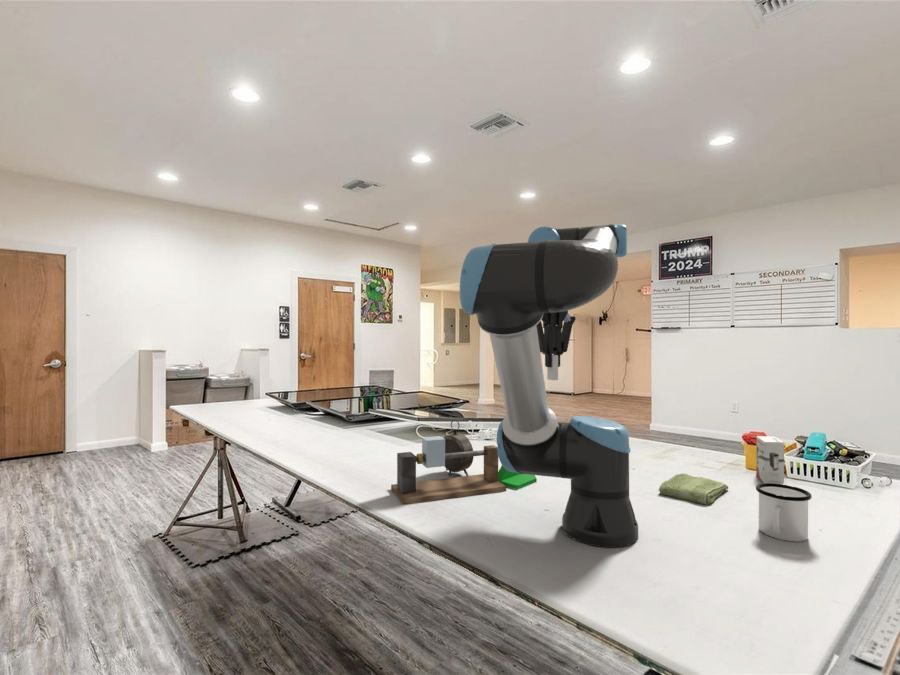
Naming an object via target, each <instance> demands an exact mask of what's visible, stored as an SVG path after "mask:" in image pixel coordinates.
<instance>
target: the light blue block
mask: <svg viewBox="0 0 900 675" xmlns="http://www.w3.org/2000/svg"><path fill="white" fill-rule="evenodd" d="M421 454H422V456H425V455H426V461H423V463H422V464H421V465H423V466H424V467H425V468H426V469H432V468H440V467H444V466H445V439H444V438H443V437H442V436H440V435H438V436H425V437H424V436H423V437H421Z"/></svg>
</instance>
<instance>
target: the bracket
mask: <svg viewBox="0 0 900 675" xmlns="http://www.w3.org/2000/svg"><path fill="white" fill-rule="evenodd" d="M537 480H538V479H537V477H536V475H529V474H524V475H523V474H519V473H516V472H510V471H508V470H506V469H505V468H504V467H503V466H502V465H501V466H500V468H499V469H498V481H499V482H500V483H502V484H503V485H505V486H506V488H510V489H513V490H520V489H523V488H525V487H527V486H531V485H533V484H536V483H537Z"/></svg>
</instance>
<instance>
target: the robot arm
mask: <svg viewBox="0 0 900 675" xmlns="http://www.w3.org/2000/svg"><path fill="white" fill-rule="evenodd" d="M627 254H628V229H627V226H626V225H625V224H623V223H619V224H618V223H617V224H616V223H615V224H613V223H609V224H603V225H593V226H583V227H581V226H578V227H567V228H557V227H556V228H553V227H550V226H546V225H545V226H543V225H542V226H539V227H537V228H535V229H534V230H533V231H532V232H531V233H530V235H529V237H528V238H527V241H526V242H515V243H513V242H512V243H503V244H502V243H499V244H496V243H492V244H490V245H481V246H476V247H472V248H471V249H470V250H469V251H468V252H467V253H466V256H465V257H464V260H463V263H462V267H461V271H460V278H459V300H460V301H459V302H460V305H461V309H462V310H463V312H464V313H465V314H467V315H470V316H473V315H476V318H477V323H478V326H479V328H480V330H482V331H483V332H485V333H487V334H489V339H490V343H491V347H492V352H493V356H494V357H493V358H494V361H495V366H496V369H497V375H498V380H499V386H500V388H501V394H502V398H503V403H504V408H505V411H506V415H505V416H504V417H503V418H502V419H503V420H501V421H500V423H499V425H498V427H497V433H496V445H497V447H498V448H497V452H498V461H499V462H500V464H501V466H503V467H504V468H505V469H506V470H508V471H510V472H516V473H519V474H523V475H524V474H529V475H535V476H539V477H540V476H541V477H549V478H550V477H551V478H560V479H561V478H562V479H569V480H570V494H569V496H568V499H567V503H566V506H565V510H564V512H563V514H562V518H561V529H562V531H563V533H564V534H566V536H568V537H569V538H571V539H573V540H575V541H577V542H580V543H583V544H587V545H590V546H596V547H604V548H605V547H606V548H621V547H627V546H630V545H632V544H635V543H636V542H637V541H638V539H639V523H638V520H637V519H636V514H635V511H634V509H633V506H632V505H633V504H632V501H631V499H630V453H631V447H630V433H629V431H628V430H627V428H626V427H625V426H624V425H622V424H620V423H618V422H616V421H613V420H609V419H605V418H600V417H596V416H588V415H587V416H586V415H585V416H584V415H576V416H575V415H574V416H572V417H571V419H570V420H569V422H562V421H558V417H557V415H556V413H555V412H554V411H553V410H552V408H550V407H549V404H548V397H547V389H546V383H545V382H546V381H545V377H544V376H545V375H544V369H543V364H542V355H544V366H545V368H546V370H547V373H546V374H547V376H546V377H547V378H546V379H547V380H549V381H558V380H559V368H560V367H561V356H562V355H564V353H567V352H568V350H569V349H568V347H569V343H570V338H571V334H572V329H573V325H574V323H575V321H576V319H577V318H576V316H573V315H571V314H569V311H571V310H574V309H575V310H576V309H578V308H580V307H582V306H585V305H586V304H589V303H591V302H592V301H595V299H597V298H599V297H600V296H602V295H603V294H604V293H606V292H607V291H608V290H609V288H611V286H612V285H613V284H614V282H615V279H616V278H617V274H618V269H619V261H618V258H624V257H625V256H626V255H627ZM541 353H542V355H541Z"/></svg>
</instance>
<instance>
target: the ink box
mask: <svg viewBox="0 0 900 675" xmlns="http://www.w3.org/2000/svg"><path fill="white" fill-rule="evenodd" d="M755 467H756V469H755V472H756V474H755V475H756V476H757V477H758V478H759V480H761V481H762V482H763V483H775V484H784V485H785V443H784V441H783V440H781V439H780V438H778V437H777V436H767V435H765V436H763V435H756V466H755Z"/></svg>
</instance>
